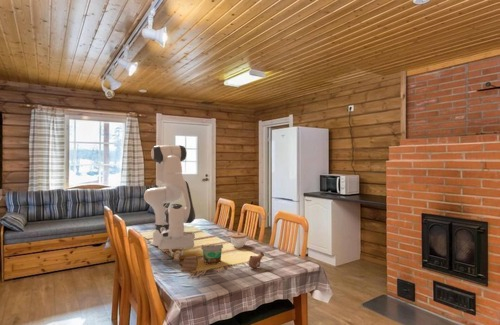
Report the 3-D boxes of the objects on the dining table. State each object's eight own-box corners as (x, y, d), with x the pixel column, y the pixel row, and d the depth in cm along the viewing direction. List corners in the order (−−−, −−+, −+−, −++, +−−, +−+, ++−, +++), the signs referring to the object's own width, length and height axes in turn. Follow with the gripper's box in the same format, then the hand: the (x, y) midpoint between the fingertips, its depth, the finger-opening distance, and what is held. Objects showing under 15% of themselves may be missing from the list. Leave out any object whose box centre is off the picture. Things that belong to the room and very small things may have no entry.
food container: (202, 266, 168) (202, 247, 168) (201, 262, 174) (201, 244, 174) (225, 263, 172) (224, 245, 171) (223, 260, 178) (222, 242, 177)
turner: (174, 255, 187) (174, 250, 187) (181, 255, 187) (181, 250, 187) (171, 264, 171) (170, 259, 171) (179, 264, 172) (179, 259, 172)
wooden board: (184, 258, 181) (184, 257, 181) (196, 258, 182) (196, 256, 182) (181, 271, 161) (181, 269, 161) (195, 270, 162) (195, 268, 162)
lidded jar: (227, 247, 203) (227, 233, 202) (235, 243, 212) (235, 229, 212) (241, 249, 198) (241, 234, 197) (249, 245, 207) (249, 231, 207)
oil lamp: (262, 265, 168) (262, 250, 168) (265, 267, 165) (265, 252, 165) (247, 267, 165) (247, 252, 165) (250, 270, 161) (250, 255, 161)
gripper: (194, 230, 185) (195, 253, 186) (159, 231, 183) (160, 254, 183) (194, 232, 179) (194, 256, 179) (158, 234, 177) (158, 258, 177)
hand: (177, 255), depth 181 cm, fingers open, 3 cm apart
